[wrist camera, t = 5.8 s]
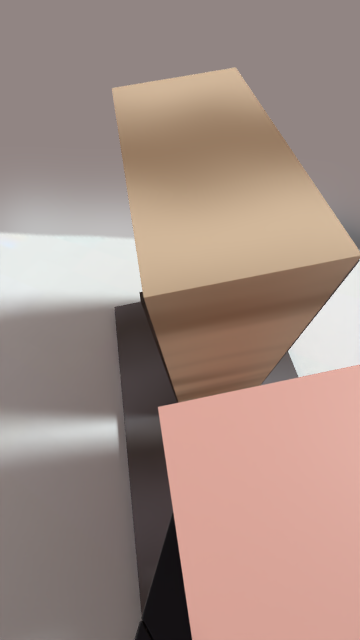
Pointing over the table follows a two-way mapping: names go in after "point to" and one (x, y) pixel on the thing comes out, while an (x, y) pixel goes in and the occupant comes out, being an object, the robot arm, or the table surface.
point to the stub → (269, 508)
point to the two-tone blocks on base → (211, 265)
